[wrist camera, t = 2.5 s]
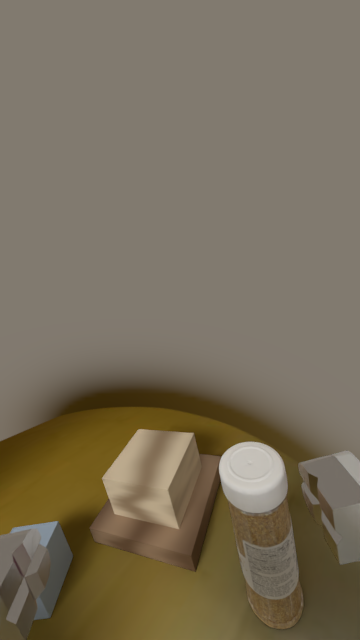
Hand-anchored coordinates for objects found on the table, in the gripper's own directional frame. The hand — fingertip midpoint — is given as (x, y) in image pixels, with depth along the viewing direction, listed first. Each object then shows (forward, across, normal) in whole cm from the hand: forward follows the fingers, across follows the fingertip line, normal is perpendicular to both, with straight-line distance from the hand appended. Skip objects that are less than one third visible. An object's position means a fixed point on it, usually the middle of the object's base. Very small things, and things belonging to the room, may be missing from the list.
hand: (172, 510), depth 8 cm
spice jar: (+9, -4, +21) cm, 23 cm away
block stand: (+20, +6, +21) cm, 29 cm away
